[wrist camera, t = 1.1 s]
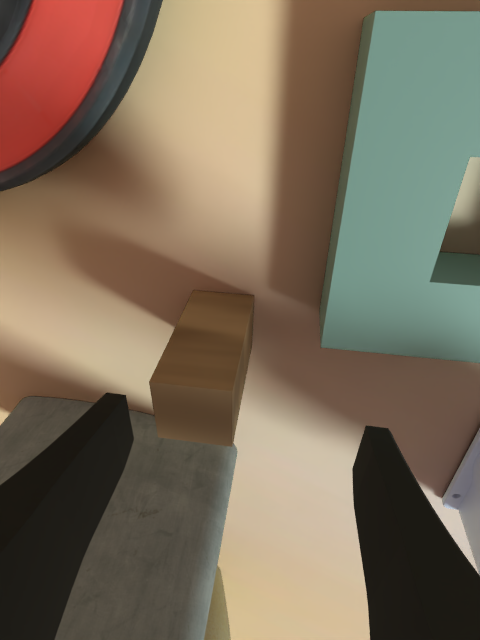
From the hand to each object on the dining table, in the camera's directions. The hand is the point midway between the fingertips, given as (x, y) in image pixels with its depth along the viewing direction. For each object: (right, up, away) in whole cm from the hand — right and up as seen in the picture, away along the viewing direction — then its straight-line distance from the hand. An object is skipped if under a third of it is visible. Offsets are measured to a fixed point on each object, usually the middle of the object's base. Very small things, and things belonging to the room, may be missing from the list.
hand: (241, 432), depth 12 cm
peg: (-1, +4, +9) cm, 10 cm away
